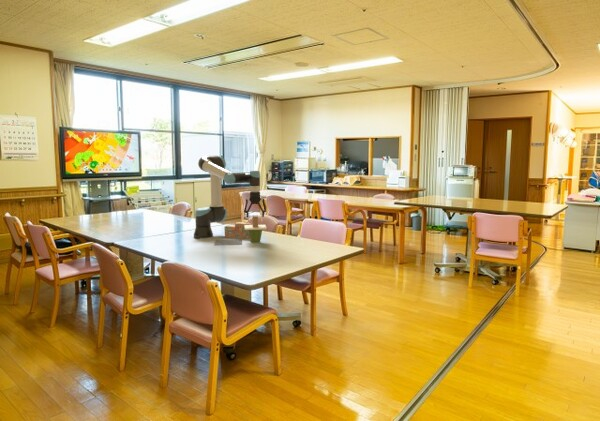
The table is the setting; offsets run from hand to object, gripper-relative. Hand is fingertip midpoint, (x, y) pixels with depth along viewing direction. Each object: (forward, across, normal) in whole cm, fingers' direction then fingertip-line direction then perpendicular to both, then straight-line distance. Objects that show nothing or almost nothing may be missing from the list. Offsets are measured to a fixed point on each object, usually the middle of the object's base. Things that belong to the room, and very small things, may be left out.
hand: (255, 221), depth 306 cm
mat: (+16, -20, 0) cm, 26 cm away
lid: (+5, 0, 0) cm, 5 cm away
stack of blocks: (+16, -13, +20) cm, 29 cm away
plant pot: (+16, 0, 0) cm, 16 cm away
